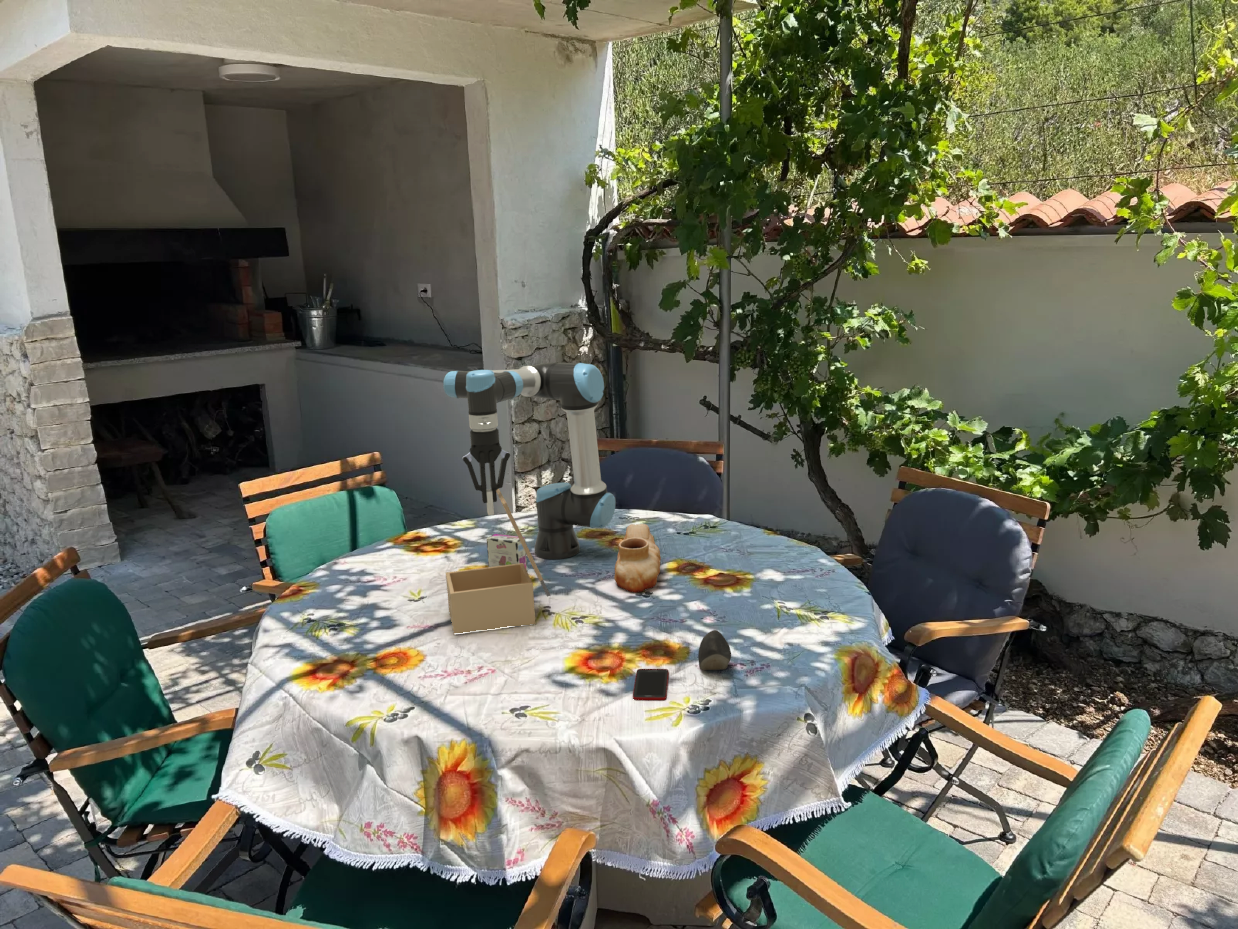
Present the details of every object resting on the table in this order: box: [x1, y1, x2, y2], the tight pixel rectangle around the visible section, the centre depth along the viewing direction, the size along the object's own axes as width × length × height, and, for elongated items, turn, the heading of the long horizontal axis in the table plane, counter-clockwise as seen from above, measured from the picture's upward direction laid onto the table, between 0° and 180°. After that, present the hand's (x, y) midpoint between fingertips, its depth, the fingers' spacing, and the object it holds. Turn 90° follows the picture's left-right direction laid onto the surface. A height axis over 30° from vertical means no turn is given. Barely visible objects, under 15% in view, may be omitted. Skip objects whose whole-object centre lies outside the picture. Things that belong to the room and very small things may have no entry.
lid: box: [496, 488, 551, 598], centre depth 259 cm, size 31×17×1 cm
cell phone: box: [632, 668, 670, 702], centre depth 219 cm, size 8×15×1 cm, turn 175°
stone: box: [697, 629, 732, 671], centre depth 226 cm, size 8×8×10 cm
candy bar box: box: [486, 533, 528, 571], centre depth 281 cm, size 11×5×16 cm, turn 62°
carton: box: [445, 563, 536, 634], centre depth 260 cm, size 22×17×12 cm
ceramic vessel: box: [613, 523, 662, 594], centre depth 286 cm, size 14×26×15 cm, turn 174°
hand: (490, 513), depth 255 cm, fingers closed
